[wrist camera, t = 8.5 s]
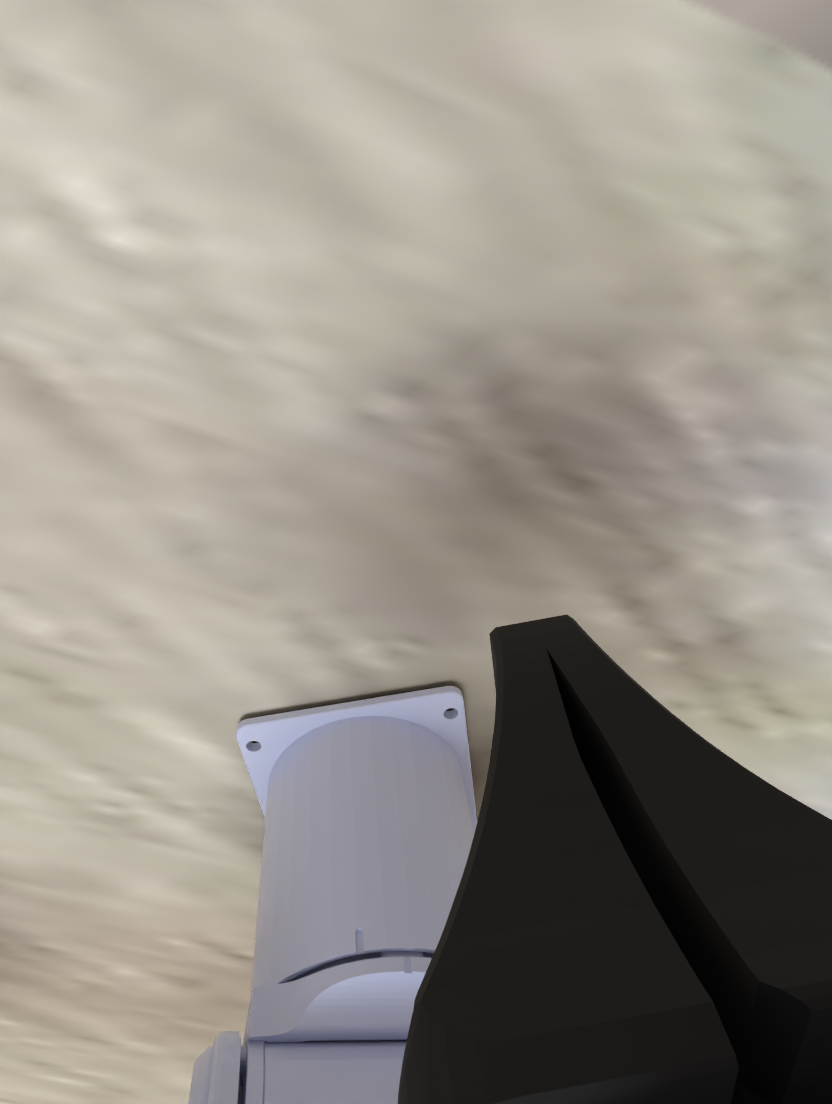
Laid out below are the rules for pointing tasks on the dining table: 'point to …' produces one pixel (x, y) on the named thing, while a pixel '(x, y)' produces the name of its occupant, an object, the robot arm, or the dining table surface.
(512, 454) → the dining table surface
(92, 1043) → the dining table surface
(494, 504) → the dining table surface
